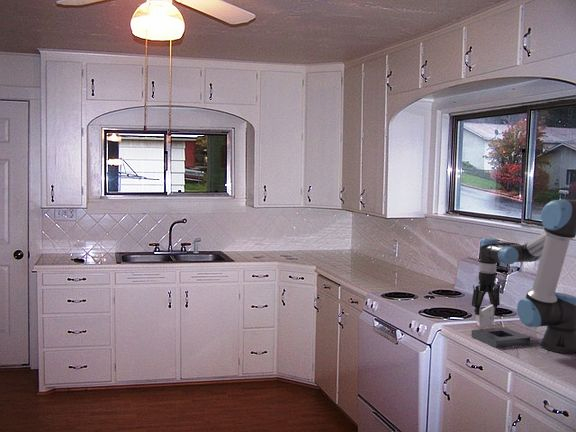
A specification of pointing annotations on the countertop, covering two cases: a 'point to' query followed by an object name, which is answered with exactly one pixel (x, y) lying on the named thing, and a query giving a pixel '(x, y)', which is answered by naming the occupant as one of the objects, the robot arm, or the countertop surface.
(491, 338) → the grey square frame
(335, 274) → the countertop surface
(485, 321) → the white wedge bracket
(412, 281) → the countertop surface
